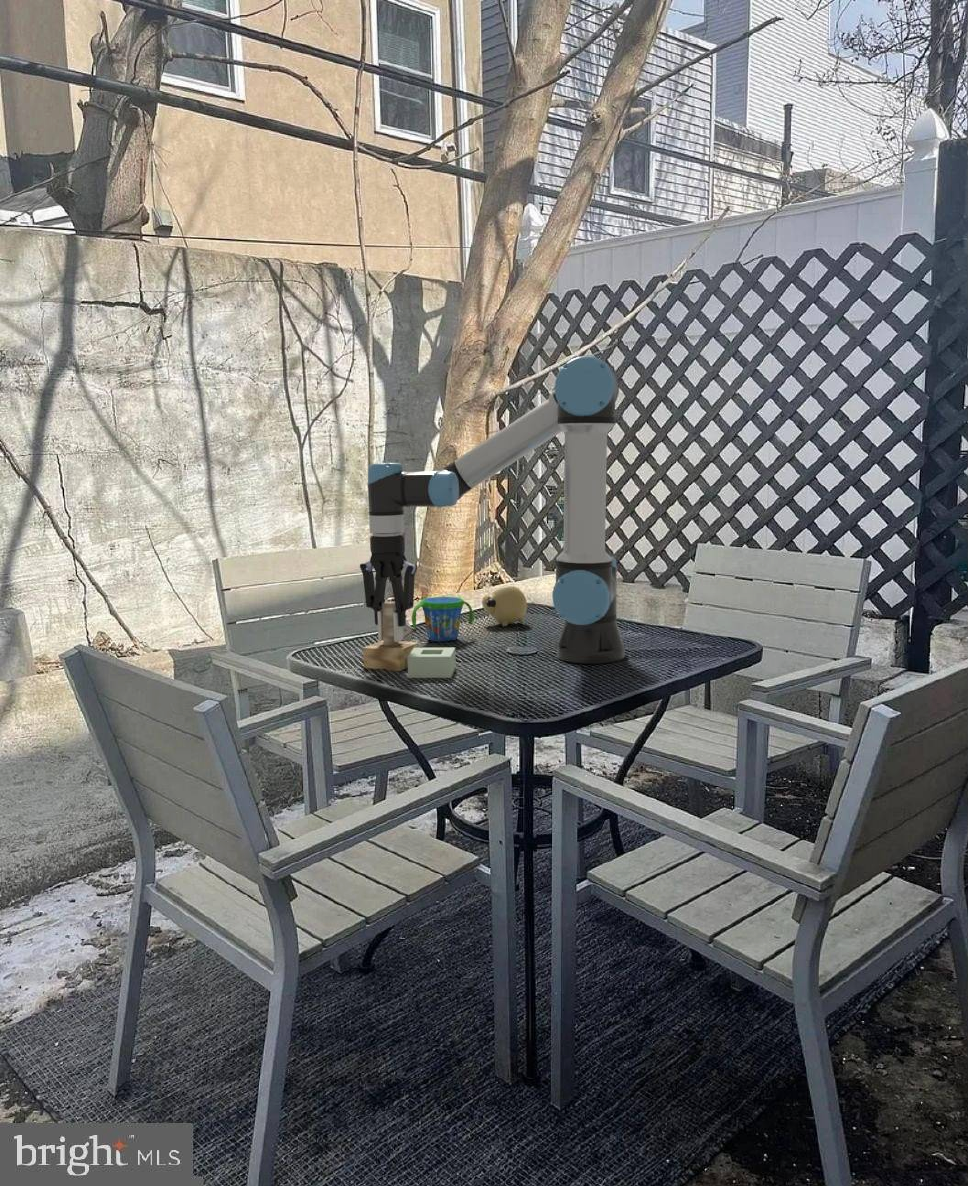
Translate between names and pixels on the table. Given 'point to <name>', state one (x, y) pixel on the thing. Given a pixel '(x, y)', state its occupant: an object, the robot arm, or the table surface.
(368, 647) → the wooden square ring
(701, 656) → the table surface
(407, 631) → the game die
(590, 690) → the table surface
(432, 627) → the snack cup
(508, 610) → the beige fuzzy round body
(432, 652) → the sage bead
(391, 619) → the dowel
